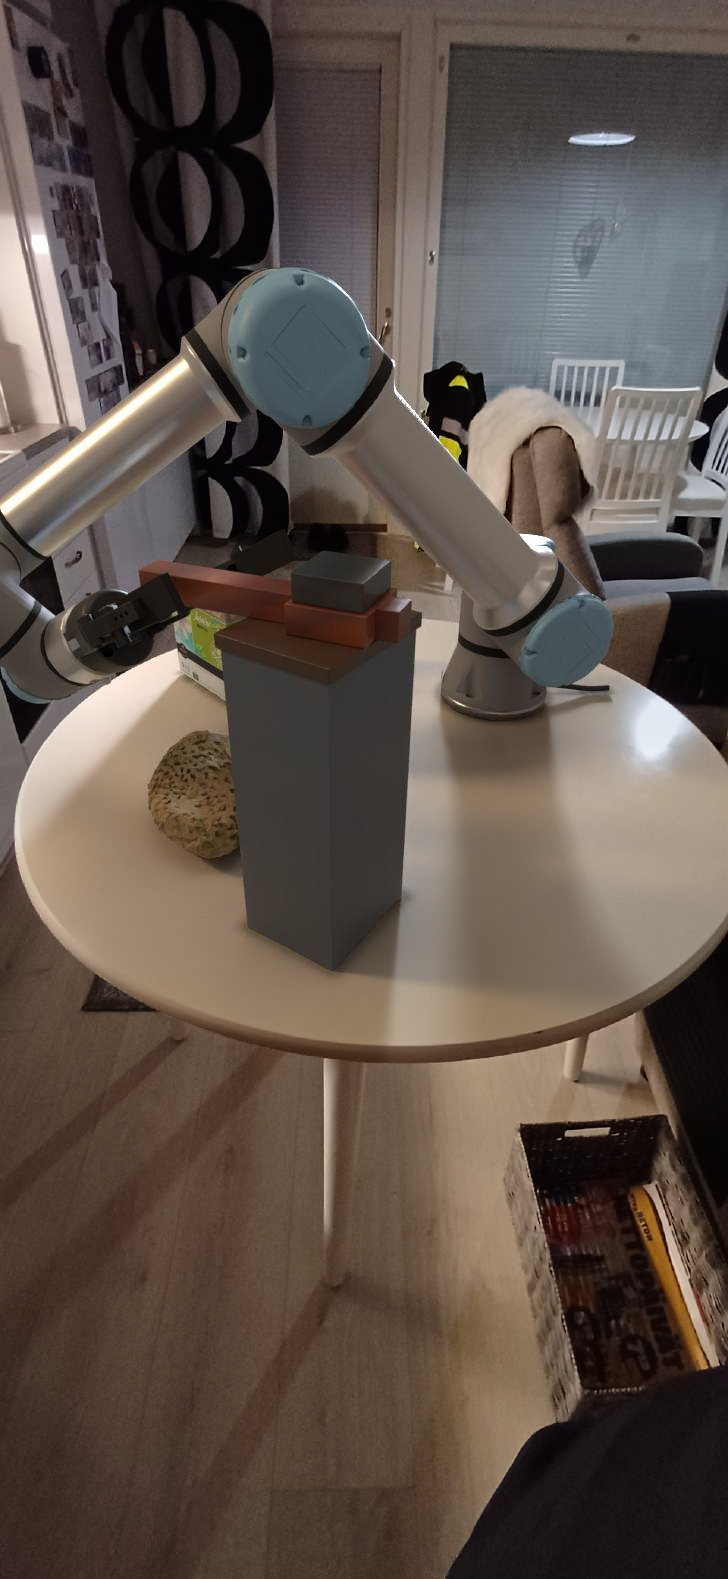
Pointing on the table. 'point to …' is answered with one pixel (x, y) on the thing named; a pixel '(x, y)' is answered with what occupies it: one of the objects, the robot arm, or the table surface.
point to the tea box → (202, 647)
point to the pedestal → (318, 780)
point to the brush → (302, 597)
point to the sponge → (196, 795)
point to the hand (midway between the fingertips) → (235, 566)
